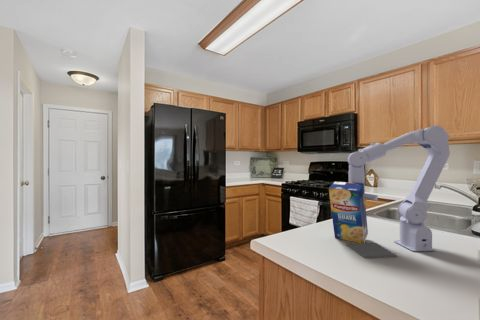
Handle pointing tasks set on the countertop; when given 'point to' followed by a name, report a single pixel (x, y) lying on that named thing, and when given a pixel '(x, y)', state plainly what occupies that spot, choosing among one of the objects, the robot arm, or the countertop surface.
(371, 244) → the mat
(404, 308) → the countertop surface
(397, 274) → the countertop surface
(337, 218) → the beverage box
